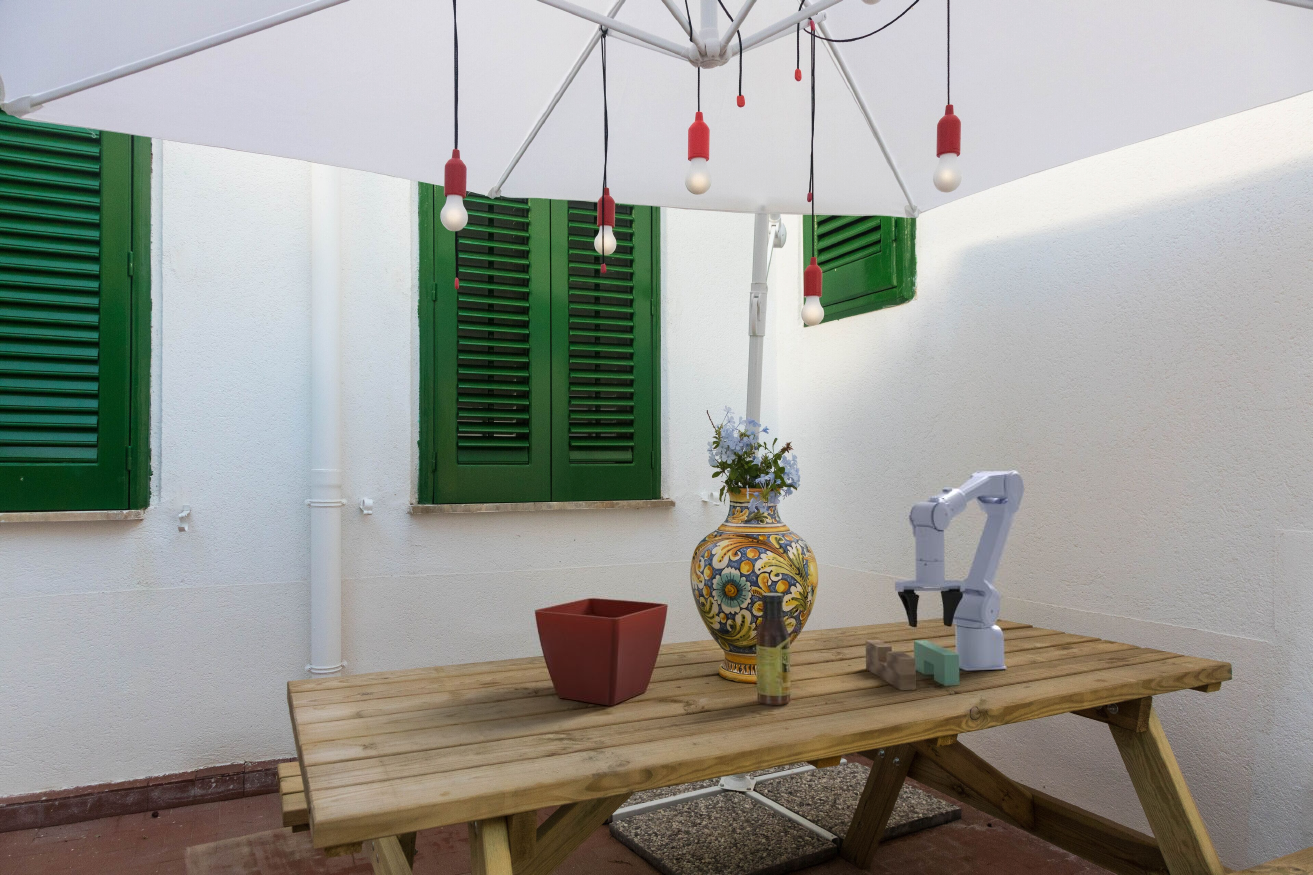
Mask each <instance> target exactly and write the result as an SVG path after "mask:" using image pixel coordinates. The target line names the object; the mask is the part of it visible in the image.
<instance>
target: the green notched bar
mask: <svg viewBox="0 0 1313 875" xmlns="http://www.w3.org/2000/svg"><path fill="white" fill-rule="evenodd" d="M913 658H915V670H916V671H917V672H919V673H921V674H922V675H933V681H935V682H937V683H939V684H941V685H943V686H946V687H947V686H960V668H959V654H956V652H954V651H952V650H949V649H947V648H945V647H943V646H940V645H938V644H936V643H933V642H931V641H930V640H925V639H924V640H923V639H922V640H913Z"/></svg>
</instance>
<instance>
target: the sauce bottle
mask: <svg viewBox="0 0 1313 875" xmlns="http://www.w3.org/2000/svg"><path fill="white" fill-rule="evenodd" d="M783 603H784V594H783V593H779V592H765V593H762V594H761V604H762V614H761V615H762V619H761V621H760V623H759V624H758V627H757V629H756V645H755V652H756V653H755V655H756V656H755V657H756V692H757V696H756V698H757V701H758V702H759V703H761V704H763V705H767V706H781V705H787V704H788V703H790V702H791V701H790V700H791V692H792V690H791V689H792V688H791V636H790V633H789V630H788V628H787V625H786V623H785V618H784V614H783V612H784V611H783V608H784V607H783Z"/></svg>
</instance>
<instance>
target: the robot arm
mask: <svg viewBox="0 0 1313 875" xmlns="http://www.w3.org/2000/svg"><path fill="white" fill-rule="evenodd" d="M941 490H942V491H941V492H940V493H938V494H936V495H932V496H930V497H929V500H927V501H924V502H923V501H918V502H917V503H916V504H914V505H913V506H912V507H911V509H910V512H909V514H908V522H909V523H910V527H911V528H912V535H913V537H914V539H915V541H914V542H915V546H914V548H915V549H914V550H915V554H914V556H915V579H913V580H911V579H910V580H899V581H898V580H897V581H896V580H895V581H894V590H895V591H896V592H897V595H898V597H899V599H900V601H901V602H902V605H903V607H904V610H905V613H906V617H907V620H908V626H909V627H910V628H917V627H918V607H919V600H920V595H919V594H916V592H929V591H930V592H931V591H932V592H936V591H939V592H940V595H941V602H942V609H943V610H942V612H943V613H942V618H943V620H942V621H943V625H944V626H946V627H950V628H951V627H952V626H953V624H954V626H955V629H954V630H955V632H954V633H955V637H954V638H955V653H956V654H959V669H961V670H962V671H963V670H964V671H967V672H968V671H986V670H987V671H989V670H1007V666H1006V665H1005V640H1004V639H1005V638H1004V633H1003V630H1002V629H1001V627H1000V626H998V625H997V624H996V623H997V621H998V619H999V617H1000V604H1001V600H1002V597H1001V594H1000V592H999V591H998V590H997V589H996V588H995V587H994V586H993V585H994V582H995V579H996V575H997V572H998V569H999V566H1000V562H1001V559H1002V556H1003V554H1004V550H1005V547H1006V543H1007V541H1008V537H1009V534H1010V532H1011V527H1012V524H1013V522H1014V518H1015V514H1016V513H1017V512H1019V508H1020V505H1021V502H1022V499H1023V496H1024V491H1025V486H1024V481H1023V478H1022V475H1021V474H1020V473H1019V472H1018V471H1016V470H1007V471H1006V470H1005V471H1004V470H1003V471H1001V470H1000V471H998V470H997V471H993V470H992V471H983V470H977V471H976V472H974V473H971V474H970V477H969V479H968V480H967V481H966V482H965V483H963V484H962V485H960V486H959V487H957V488H955V487H950V486H949V487H948V486H947V487H946V486H945V487H943V488H942V489H941ZM973 500H976V502H977V505H978V506H979V509H980V510H981V511H983V512H984V513H986V515H987V517H986V521H985V524H984V526H983V529H982V533H981V536H980V538H979V540H978V541H979V542H978V545H977V547H976V551H975V554H974V557H973V561H972V563H971V566H970V570H969V572H968V576H967V577H966V578H965V579H962V580H951V579H950V580H947V579H945V576H946V574H945V530H948V529H949V526H950V523H951V521H952V520H953V519H954V518H955V517H957V516H958V515H960V514H962V513H963V512H965V510H966V509H967V505H968V503H969V502H971V501H973Z"/></svg>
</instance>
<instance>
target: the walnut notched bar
mask: <svg viewBox="0 0 1313 875" xmlns="http://www.w3.org/2000/svg"><path fill="white" fill-rule="evenodd" d="M865 669H866V670H868V671H870V672H871V673H872V674H874V675H875V676H877V677H879V678H880V679H882V680H884V681H886V682H887V683H888V684H890V685H892V686H893V687H895V688H897V689H898V690H900V691H914V690H915V689H916V690H917V686H916V685H917V683H916V682H917V681H916V680H917V679H916V677H917V676H916V671H917V670H915V658H914V656H911V655H909V654H908V653H905V652H904V651H902V650H899V651H897V650H895V651H893V647H892V646H891V645H889V644H888V643H886V642H883V641H882V640H880V639H868V640H865ZM916 690H915V691H916Z"/></svg>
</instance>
